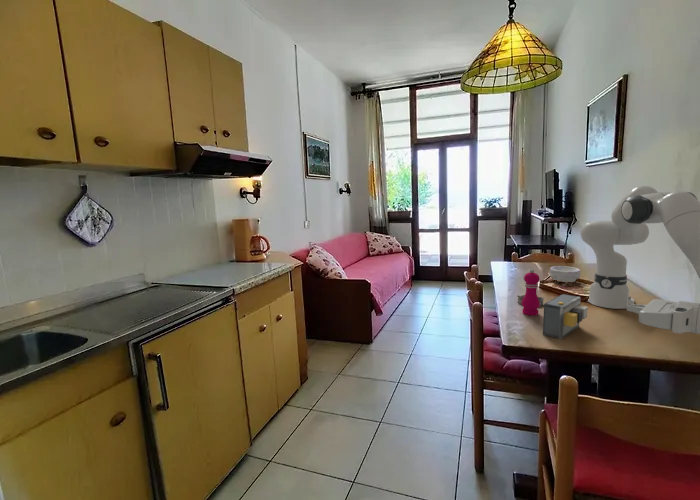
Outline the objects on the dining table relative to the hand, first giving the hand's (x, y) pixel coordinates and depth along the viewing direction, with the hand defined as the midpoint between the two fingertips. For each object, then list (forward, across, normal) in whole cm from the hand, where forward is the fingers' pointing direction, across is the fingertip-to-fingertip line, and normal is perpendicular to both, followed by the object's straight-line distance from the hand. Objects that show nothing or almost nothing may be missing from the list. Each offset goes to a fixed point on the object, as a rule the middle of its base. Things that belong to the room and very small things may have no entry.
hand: (627, 307), depth 118 cm
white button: (+17, -10, +10) cm, 22 cm away
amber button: (+17, +1, +10) cm, 19 cm away
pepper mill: (+38, -16, +14) cm, 44 cm away
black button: (+17, -4, +10) cm, 20 cm away
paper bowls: (+48, -86, +14) cm, 99 cm away
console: (+21, -4, +15) cm, 26 cm away
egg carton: (+44, -31, +15) cm, 56 cm away
